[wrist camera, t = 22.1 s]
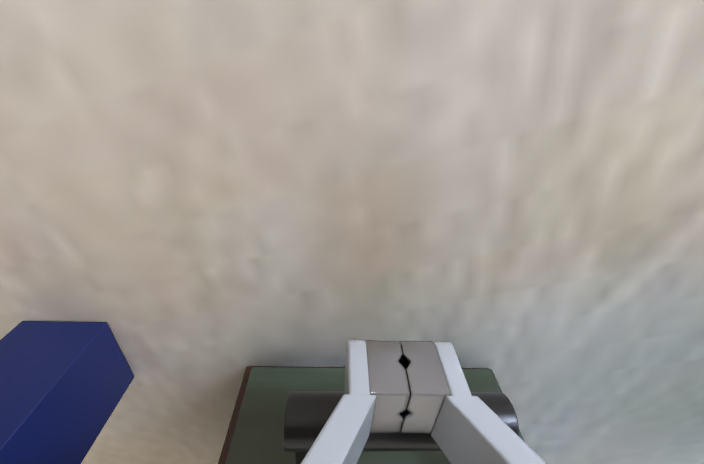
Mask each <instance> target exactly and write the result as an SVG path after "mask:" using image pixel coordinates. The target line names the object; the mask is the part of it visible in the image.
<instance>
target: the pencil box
mask: <svg viewBox="0 0 704 464" xmlns="http://www.w3.org/2000/svg"><path fill="white" fill-rule="evenodd" d="M133 378H134V375H133V373H132V371H131V369H130V367H129V365H128V363H127V361H126V359H125V357H124V355H123V353H122V351H121V350H120V348H119V346H118V344H117V342H116V340H115V338H114V336H113V334H112V332H111V330H110V328H109V326H108V324H107V323H106V322H52V321H22V322H21V323H20V324H18V325H17V326H16V327H15V328H14V329H13V330H12V331H10V332H9V333H8V334H7V335H6V336H5V337H4V338H2V339H1V340H0V464H81V462H82V461H83V459H84V457H85V456H86V454H87V453H88V451H89V449H90V448H91V446H92V445H93V443H94V441H95V440H96V438H97V436H98V435H99V433H100V432H101V430H102V428H103V427H104V425H105V423H106V422H107V420H108V419H109V417H110V415H111V414H112V412H113V411H114V409H115V407H116V406H117V404H118V402H119V401H120V399H121V398H122V396H123V394H124V393H125V391H126V390H127V388H128V386H129V385H130V383H131V381H132V380H133Z"/></svg>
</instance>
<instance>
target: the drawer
mask: <svg viewBox="0 0 704 464" xmlns="http://www.w3.org/2000/svg"><path fill="white" fill-rule="evenodd" d="M462 370H463V373H464V376H465V379H466V381H467V384H468V387H469V389H470V392H471V395H472V396H478V397H479V398H480V399H481V400H482V401H483V402H484V403H485V404H486V405H487V406H488V407H489V408H490V409H491V410H492V411H493V412H494V413H495V414H496V415H497V416H498V417H499V418H500V419H501V420H502V421H503V422H504V423H506V424H507V425H508V426H509V427H510V428H511V429H512V430H513V431H514V432H515V433H516V434H517V435H518V436H519V437H520V438H521V439H522V440H523V441H524V439H523V437H522V434H521V432H520V430H519V425H518V420H517V416H516V413H515V410H514V408H513V406H512V404H511V402H510V400H509V399H508V398H507V397H506V396H505V395H504V394H503V393H502V391H501V389H500V386H499V384H498V382H497V380H496V378H495V375H494V373H493V371H492V370H491V369H462ZM344 378H345V368H278V367H252V368H251V372H250V375H249V379H248V382H247V386H246V390H245V393H244V397H243V401H242V404H241V408H240V411H239V415H238V419H237V422H236V426H235V430H234V433H233V437H232V440H231V444H230V448H229V451H228V455H227V459H226V462H225V464H301V463H302V461H303V459H304V458H305V456H306V454H307V453H308V451H309V450H310V448H311V446H312V445H313V443H314V441H315V440H316V438H317V437H318V435H319V433H320V432H321V430H322V429H323V427H324V425H325V424H326V422H327V420H328V419H329V417H330V416H331V414H332V412H333V411H334V409H335V408H336V406H337V404H338V403H339V401H340V399H341V398H342V396H343V395H344ZM431 434H432V433H402V432H401V431H399V432H396V433H370V434H369V437H368V439H367V441H366V444H365V446H364V448H363V450H362V453H361V455H360V457H359V459H358V461H357V464H451V463H450V462H449V460H448V459H447V457H446V456H445V454H444V453H443V452H442V450H441V449H440V447H439V446H438V445H437V443H436V442H435V440H434V439H433V437H432V436H431ZM524 442H525V441H524Z"/></svg>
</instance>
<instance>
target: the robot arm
mask: <svg viewBox="0 0 704 464" xmlns="http://www.w3.org/2000/svg"><path fill="white" fill-rule="evenodd" d="M399 431H401V432H402V433H432V434H431V436H432V437H433V439H434V440H435V442H436V443H437V445H438V446H439V447H440V449H441V450H442V452H443V453H444V454H445V456H446V457H447V459H448V460H449V462H450V463H451V464H547V463H546V462H545V461H544V460H543V459H542V458H540V457H539V456H538V455H537V454H536V453H535V452H534V451H533V450H532V449H531V448H530V447H529V446H528V445H527V444H526V443H525V442H524V441H523V440H522V439H521V438H520V437H519V436H518V435H517V434H516V433H515V432H514V431H513V430H512V429H511V428H510V427H509V426H508V425H507V424H506V423H504V422H503V421H502V420H501V419H500V418H499V417H498V416H497V415H496V414H495V413H494V412H493V411H492V410H491V409H490V408H489V407H488V406H487V405H486V404H485V403H484V402H483V401H482V400H481V399H480V398H479V397H478V396H472V395H471V392H470V389H469V387H468V384H467V381H466V379H465V376H464V373H463V370H462V368H461V365H460V362H459V360H458V357H457V354H456V352H455V349H454V346H453V345H452V343H451V342H432V341H399V342H395V341H374V340H348V341H347V349H346V360H345V378H344V395H343V396H342V398H341V399H340V401H339V403H338V404H337V406H336V408H335V409H334V411H333V412H332V414H331V416H330V417H329V419H328V420H327V422H326V424H325V425H324V427H323V429H322V430H321V432H320V433H319V435H318V437H317V438H316V440H315V441H314V443H313V445H312V446H311V448H310V450H309V451H308V453H307V454H306V456H305V458H304V459H303V461H302V463H301V464H357V461H358V459H359V457H360V455H361V453H362V450H363V448H364V446H365V444H366V441H367V439H368V437H369V434H370V433H396V432H399Z"/></svg>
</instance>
